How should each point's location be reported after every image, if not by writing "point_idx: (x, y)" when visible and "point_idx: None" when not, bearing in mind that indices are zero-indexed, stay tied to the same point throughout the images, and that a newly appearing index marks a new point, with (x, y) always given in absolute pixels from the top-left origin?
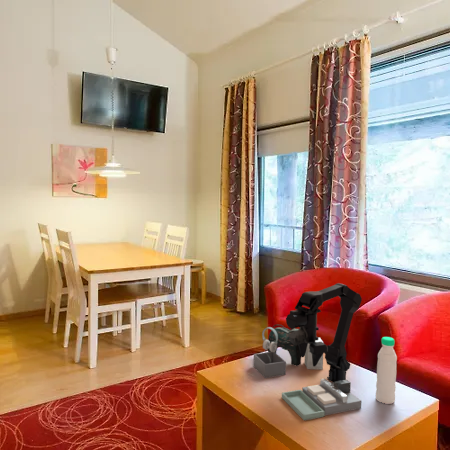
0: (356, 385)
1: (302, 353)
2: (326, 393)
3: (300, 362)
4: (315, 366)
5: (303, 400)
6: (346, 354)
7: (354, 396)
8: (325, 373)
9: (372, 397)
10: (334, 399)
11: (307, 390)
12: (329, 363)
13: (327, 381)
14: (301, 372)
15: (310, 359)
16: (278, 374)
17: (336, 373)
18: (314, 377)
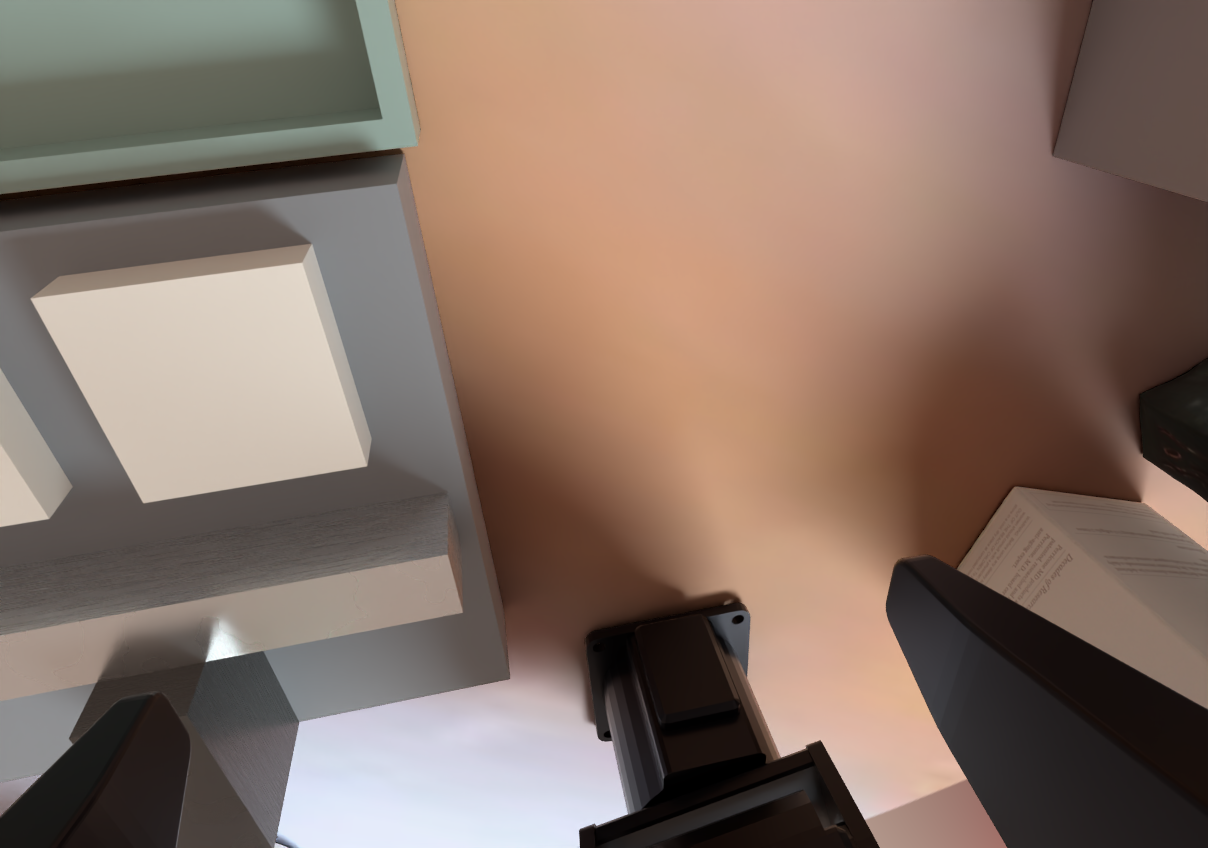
0: (533, 769)
1: (971, 667)
2: (17, 488)
3: (1164, 466)
4: (984, 580)
5: (164, 77)
6: None
7: None
8: (843, 614)
9: (287, 817)
10: None
11: (266, 231)
12: (799, 775)
13: (352, 621)
14: (988, 396)
15: (1082, 597)
16: (1109, 15)
17: (643, 741)
18: (815, 492)
